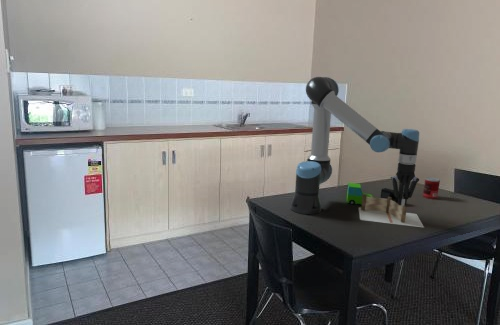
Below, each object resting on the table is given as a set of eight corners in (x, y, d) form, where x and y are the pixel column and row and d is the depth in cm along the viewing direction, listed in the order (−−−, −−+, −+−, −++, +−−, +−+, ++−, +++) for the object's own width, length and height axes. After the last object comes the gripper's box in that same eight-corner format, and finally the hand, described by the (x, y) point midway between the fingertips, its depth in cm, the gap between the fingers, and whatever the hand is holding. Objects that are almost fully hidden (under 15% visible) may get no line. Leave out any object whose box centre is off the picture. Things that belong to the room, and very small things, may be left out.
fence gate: (387, 212, 193) (389, 198, 191) (390, 212, 193) (392, 198, 191) (402, 222, 180) (404, 207, 179) (405, 222, 181) (407, 207, 179)
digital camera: (378, 201, 215) (380, 189, 213) (383, 199, 218) (385, 187, 217) (396, 206, 207) (397, 193, 206) (401, 204, 211) (403, 192, 209)
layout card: (360, 220, 182) (360, 219, 182) (358, 208, 200) (358, 207, 200) (424, 228, 176) (424, 227, 176) (416, 215, 195) (416, 213, 194)
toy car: (373, 208, 202) (375, 189, 200) (347, 205, 205) (348, 187, 203) (371, 202, 212) (373, 184, 210) (346, 199, 214) (348, 182, 212)
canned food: (438, 196, 229) (440, 178, 227) (436, 200, 222) (438, 181, 220) (423, 194, 233) (426, 176, 230) (421, 197, 226) (424, 179, 224)
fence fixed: (361, 210, 196) (362, 194, 194) (360, 209, 198) (362, 193, 196) (389, 213, 193) (391, 198, 191) (389, 212, 195) (391, 197, 193)
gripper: (396, 164, 176) (390, 214, 181) (424, 165, 177) (417, 214, 182) (390, 160, 183) (384, 208, 188) (416, 161, 184) (410, 209, 189)
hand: (400, 211), depth 185 cm, fingers closed
